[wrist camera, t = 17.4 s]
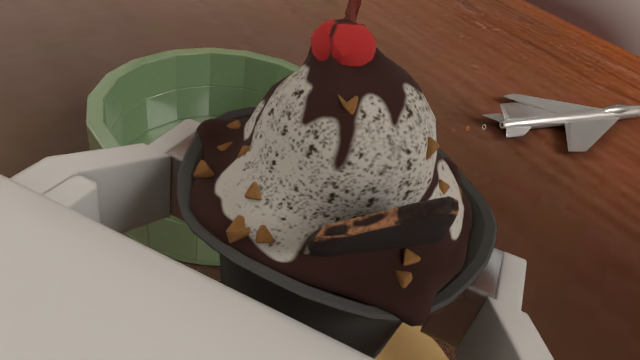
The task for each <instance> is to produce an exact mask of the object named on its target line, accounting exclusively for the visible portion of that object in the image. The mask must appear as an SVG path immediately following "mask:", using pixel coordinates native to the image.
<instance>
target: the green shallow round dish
mask: <svg viewBox="0 0 640 360" xmlns="http://www.w3.org/2000/svg"><path fill="white" fill-rule="evenodd" d="M299 68H301V67H299V66H297V65H294V64H292V63H290V62H288V61H285V60H282V59H278V58H274V57H270V56H266V55H262V54H258V53H254V52H250V51H244V50H233V49H222V48H211V47H210V48H193V49H178V50H171V51H170V50H169V51H165V52H161V53H157V54H153V55H149V56H145V57H141V58H137V59H133V60H131V61H129V62H127V63H126V64H124V65H122V66H120V67H118V68H116V69H114V70H113V71H111V72H109V73H107V74H106V75H105V76H104V77H103V78H102V79H101V81H100V82H99V83H98V84H97V86H96V87H95V88H94V89H93V90H92V92H91V93H90V94H89V95H88V97H87V110H86V128H87V134H88V141H89V147H90V151H91V150H98V149H105V148H112V147H119V146H126V145H133V144H140V143H143V144H146V145H149V144H150V143H152V142H153V141H155V140H156V139H158V138H159V137H161V136H162V135H163V134H165V133H166V132H168V131H169V130H171V129H172V128H174V127H175V126H177V125H178V124H180V123H181V122H183V121H184V120H186V119H192V120H195V121H197V122H199V123H202V122H203V121H205V120H208V119H215V118H216V117H218V116H220V115H222V114H224V113H225V112H227V111H232V110H237V109H243V108H248V107H257V106H258V104H259V103H260V102H261V100H262V99H263V97H264V96H265V95H266V93H267V92H268V91H269V89H270V88H271V86H272V85H274V84H275V83H277V82H279V81H280V80H282V79H283V78H285V77H287V76H288V75H290V74H292V73H294V72H295V71H297V70H298V69H299ZM122 234H123V235H125V236H127V237H129V238H131V239H133V240H135V241H137V242H139V243H141V244H143V245H145V246H147V247H149V248H151V249H153V250H155V251H157V252H159V253H161V254H163V255H165V256H167V257H169V258H171V259H175V260H178V261H182V262H187V263H194V264H200V265H213V266H220V255H219V253H218V252H217V251H215V250H214V249H212V248H211V247H210V246H208V245H207V244H206V243H205V242H204V241H202V240H201V239H200V238H199V237H198V236H196V235H195V234H194V233H193V232H192V231H191V230H190V228H189V227H188V225H187V223H186V222H185V221H183V220H181V219H179V218H177V217H174V216H172V215H170V217H167V218H164V219H161V220H158V221H155V222H153V223H150V224H147V225H144V226H141V227H138V228H135V229H132V230H130V231H127V232H124V233H122Z"/></svg>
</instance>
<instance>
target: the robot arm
mask: <svg viewBox="0 0 640 360" xmlns="http://www.w3.org/2000/svg"><path fill="white" fill-rule="evenodd" d="M200 124H201V123H199V122H197V121H195V120H192V119H186V120H184V121H183V122H181V123H180V124H178V125H177V126H175V127H174V128H172V129H171V130H169V131H168V132H166V133H165V134H163V135H162V136H161V137H159V138H158V139H156V140H155V141H153V142H152V143H150V144H149V145H146V144H143V143H140V144H133V145H126V146H119V147H112V148H105V149H98V150H91V151H84V152H77V153H70V154H63V155H56V156H49V157H46V158H44V159H42V160H40V161H39V162H37V163H35V164H33V165H32V166H30V167H28V168H26V169H25V170H23V171H21V172H20V173H18V174H16V175H14V176H13V177H11V178H7V177H5V176H3V175H1V174H0V360H376V359H373V358H371V357H369V356H367V355H365V354H363V353H361V352H359V351H357V350H355V349H353V348H351V347H349V346H347V345H345V344H343V343H341V342H339V341H337V340H335V339H333V338H331V337H329V336H327V335H325V334H323V333H321V332H319V331H317V330H315V329H313V328H311V327H309V326H307V325H305V324H303V323H301V322H299V321H297V320H295V319H293V318H291V317H289V316H287V315H285V314H283V313H281V312H279V311H277V310H275V309H273V308H271V307H269V306H267V305H265V304H263V303H260V302H258V301H256V300H254V299H252V298H250V297H248V296H246V295H244V294H242V293H240V292H238V291H236V290H234V289H232V288H230V287H228V286H226V285H224V284H222V283H220V282H218V281H216V280H214V279H212V278H210V277H208V276H206V275H204V274H202V273H200V272H198V271H196V270H194V269H192V268H189V267H187V266H185V265H183V264H181V263H179V262H177V261H175V260H173V259H171V258H169V257H167V256H165V255H163V254H161V253H159V252H157V251H155V250H153V249H151V248H149V247H147V246H145V245H143V244H141V243H139V242H137V241H135V240H133V239H131V238H129V237H127V236H125V235H123V234H121V233H124V232H127V231H130V230H132V229H135V228H138V227H141V226H144V225H147V224H150V223H153V222H155V221H158V220H161V219H164V218H167V217H170V215H172V216H174V217H177V218H179V219H181V220H183V221H185V220H184V219H183V217H182V215H181V211H180V207H179V202H178V198H177V184H178V172H179V169H180V166H181V163H182V160H183V157H184V154H185V152H186V151H187V149H188V147H189V145H190V143H191V141H192V139H193V137H194V135H195V133H196V129H197V127H198V126H199V125H200ZM526 266H527V262H526V260H525V259H523V258H520V257H518V256H515V255H513V254H510V253H508V252H505V251H500V250H498V249H496V248H494V249H493V252H492V254H491V257H490V260H489V262H488V265H487V266H486V267H485V268H484V270H483V271H482V272H481V273H480V274H479V275H478V277H477V278H476V279H475V280H474V281H473V282H472V284H471V285H470V286H469V287H468V288H466V289H465V290H464V291H463V292H462V293H461V294H460V295H459V296H457V297H456V298H455V299H454V300H453V301H452V302H451V303H449V304H448V305H446V306H444V307H442V308H440V309H438V310H437V311H435V312H433V313H431V314H429V316H428V318H427V320H426V321H425V322H424V323H423V325H422V327H421V330H420V332H422V333H424V334H426V335H428V336H429V337H431V338H433V339H435V340H437V341H439V342H441V343H443V344H445V345H447V346H449V347H451V348H453V349H455V353H456V356H457V359H458V360H554V359H553V357H552V355H551V353H550V352H549V350H548V348H547V347H546V345H545V343H544V341H543V340H542V338H541V336H540V335H539V333H538V331H537V329H536V328H535V326H534V324H533V322H532V321H531V319H530V317H529V316H528V314H527V313H525V312H522V311H521V307H522V298H523V290H524V282H525V274H526Z"/></svg>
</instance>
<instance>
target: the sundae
mask: <svg viewBox="0 0 640 360" xmlns="http://www.w3.org/2000/svg"><path fill="white" fill-rule="evenodd" d="M360 5H361V0H349V1H348V5H347V9H346V12H345V15H346V17H345V18H344V19H339V20H335V19H333V20H327V21H325V22H324V23H323V24H322V25H321V26H320V27H318V28H317V29H316V30H315V31H314V33H313V35H312V37H311V47H310V50H309V53H308V56H307V58H306V60H305V62H304V64H303V65H302V67H301V68H299V69H298V70H297V71H295V72H294V73H292V74H290V75H288V76H287V77H285V78H283V79H282V80H280V81H279V82H277V83H275V84H274V85H272V86H271V88H270V89H269V91H268V92H267V93H266V95H265V96H264V97H263V99H262V100H261V102H260V103H259V104H258V106H257V107H248V108H243V109H237V110H232V111H227V112H225V113H224V114H222V115H220V116H218V117H216V118H215V119H208V120H205V121H203V122H202V123H201V124H200V125H199V126H198V127H197V129H196V133H195V135H194V137H193V139H192V141H191V143H190V145H189V147H188V149H187V151H186V152H185V154H184V157H183V160H182V163H181V166H180V169H179V172H178V184H177V198H178V202H179V207H180V211H181V215H182V217H183V219H184V220H185V222H186V223H187V225H188V227H189V228H190V230H191V231H192V232H193V233H194V234H195V235H196V236H198V237H199V238H200V239H201V240H202V241H204V242H205V243H206V244H207V245H208V246H210V247H211V248H212V249H214V250H215V251H217V252H218V253H219V255H220V271H221V283H222V284H224V285H226V286H228V287H230V288H232V289H234V290H236V291H238V292H240V293H242V294H244V295H246V296H248V297H250V298H252V299H254V300H256V301H258V302H260V303H263V304H265V305H267V306H269V307H271V308H273V309H275V310H277V311H279V312H281V313H283V314H285V315H287V316H289V317H291V318H293V319H295V320H297V321H299V322H301V323H303V324H305V325H307V326H309V327H311V328H313V329H315V330H317V331H319V332H321V333H323V334H325V335H327V336H329V337H331V338H333V339H335V340H337V341H339V342H341V343H343V344H345V345H347V346H349V347H351V348H353V349H355V350H357V351H359V352H361V353H363V354H365V355H367V356H369V357H371V358H373V359H375V358H376V357H377V356H378V355H379V354H380V352H381V351H382V350H383V348H384V347H385V346H386V344H387V343H388V341H389V340H390V339H391V337H392V336H393V335H394V333H395V332H396V330H397V329H398V328H399V326H400V325H401V324H402V322H403V323H405V324H407V325H409V326H411V327H412V326H421V325H423V323H424V322H425V321H426V320H427V318H428V316H429V314H431V313H433V312H435V311H437V310H438V309H440V308H442V307H444V306H446V305H448V304H449V303H451V302H452V301H453V300H454V299H455V298H456V297H457V296H459V295H460V294H461V293H462V292H463V291H464V290H465V289H466V288H468V287H469V286H470V285H471V284H472V282H473V281H474V280H475V279H476V278H477V277H478V275H479V274H480V273H481V272H482V271H483V270H484V268H485V267H486V266H487V265H488V262H489V260H490V257H491V254H492V252H493V249H494V246H495V243H496V235H497V223H496V220H495V218H494V215H493V212H492V209H491V208H490V206H489V205H488V203H487V202H486V200H485V198H484V197H483V196H482V195H481V194H480V193H479V192H478V191H477V189H476V188H475V187H474V186H473V185H472V184H471V183H470V182H469V180H468V179H467V178H466V177H465V176H464V175H463V174H462V172H461V171H460V170H459V169H458V167H457V166H456V165H455V164H454V163H453V162H452V160H451V159H450V158H449V157H448V156H447V155H446V154H445V153H444V152H443V151H442V150H441V149H440V148H439V147H440V144H439V143H437V142H436V118H435V116H434V114H433V112H432V110H431V108H430V106H429V104H428V102H427V100H426V98H425V97H424V95H423V93H422V91H421V89H420V87H419V85H418V84H417V83H416V82H415V80H414V79H413V78H412V77H411V76H410V75H409V74H408V73H407V72H406V71H405V70H404V69H402V68H401V67H400V66H398V65H397V64H396V63H394V62H393V61H391V60H390V59H389V58H387V57H386V56H385V55H384V54H383V53H382V52H381V51H380V50H378V49H377V47H376V41H375V39H374V36H373V35H372V34H371V32H370V31H369V30H368V29H367V28H366V26H365V25H363V24H357V23H355V22H356V19H357V15H358V11H359V8H360Z"/></svg>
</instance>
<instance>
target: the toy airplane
mask: <svg viewBox="0 0 640 360" xmlns="http://www.w3.org/2000/svg"><path fill="white" fill-rule="evenodd" d="M503 97H506V98H509V99H511V100H514V101H517V102H516V103H502V104H500V107H501V110H502V113H503V114H485V115H483V116H485V117H488V118H491V119H493V120H496V121H498V122H499V123H500V128H502V129H506V138H509V137H517V136H524V135H525V134H526V133H527V132H528V131H529V129H534V128H546V127H556V126H565V130H566V137H567V145H568V151H569V152H586V151H587V150H588V149H589V148H590V147H591V146H592V145H593V144H594V143H595V142H596V141H597V140H598V139H599V138H600V137H601V136H602V135H603V134H604V133H605V132H606V131H607V130H608V129H609V128H610V127H611V126H612V125H613V124H614V123H615V122H616V121H617V120H621V119H630V118H636V117H640V106H626V105H612V106H608V107H605V108H603V109H601V108H595V107H589V106H583V105H577V104H572V103H566V102H560V101H554V100H548V99H543V98H537V97H531V96H525V95H519V94H510V95H505V96H503ZM518 102H519V103H518ZM521 103H522V104H521ZM524 104H525V105H524ZM527 105H528V106H527ZM483 125H485V124H483ZM483 125H482V128H483ZM467 127H469V126H467ZM467 127H466V130H467ZM469 129H470V128H469ZM485 129H486V125H485ZM485 129H483V130H485ZM452 131H453V129H452ZM467 131H469V130H467ZM454 132H455V131H454Z"/></svg>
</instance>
